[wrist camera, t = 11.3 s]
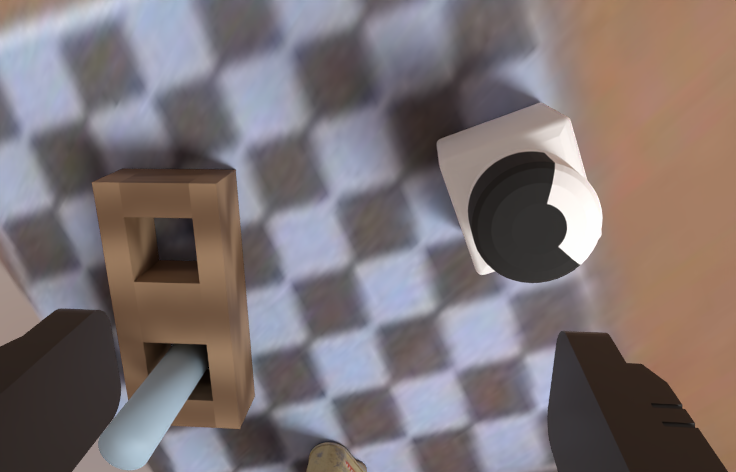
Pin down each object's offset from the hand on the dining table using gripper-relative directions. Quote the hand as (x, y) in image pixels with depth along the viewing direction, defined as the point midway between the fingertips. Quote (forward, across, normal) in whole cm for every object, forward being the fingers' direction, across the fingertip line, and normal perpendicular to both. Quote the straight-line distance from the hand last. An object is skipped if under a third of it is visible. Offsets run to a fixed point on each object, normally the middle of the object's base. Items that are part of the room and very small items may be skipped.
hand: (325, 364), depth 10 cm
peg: (+29, +15, +17) cm, 37 cm away
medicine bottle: (+29, -7, +3) cm, 30 cm away
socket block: (+29, +15, +13) cm, 35 cm away
